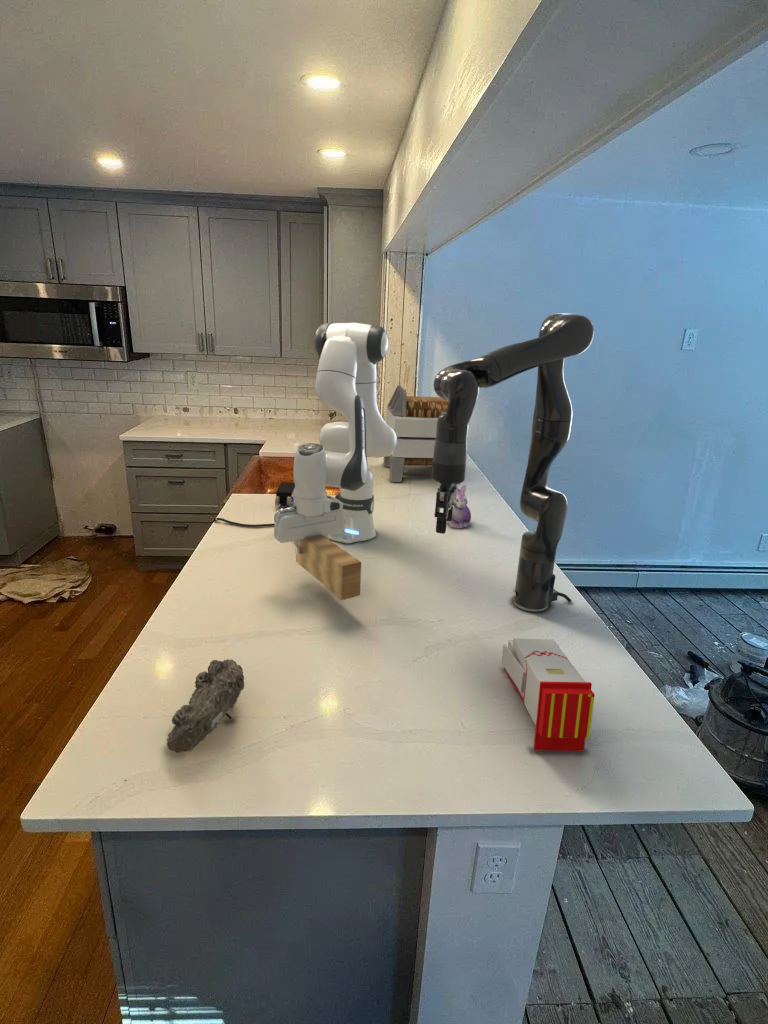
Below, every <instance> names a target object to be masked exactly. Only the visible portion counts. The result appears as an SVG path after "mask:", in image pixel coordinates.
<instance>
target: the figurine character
mask: <svg viewBox="0 0 768 1024" xmlns="http://www.w3.org/2000/svg"><path fill="white" fill-rule="evenodd" d="M294 489H295V482H286V481H285V482H284V481H280V483H279V486H278V487H277V490H276V491H275V497H274V498H275V499H274V506H278V510H279V509H282V507H285V508H290V506H292V503H294Z"/></svg>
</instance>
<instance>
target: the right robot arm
mask: <svg viewBox="0 0 768 1024" xmlns="http://www.w3.org/2000/svg"><path fill="white" fill-rule="evenodd" d="M594 335H595V330H594V324H593V323H592V321H591V319H589V318H588V317H587V316H585V315H582V314H578V313H562V312H561V313H559V312H558V313H551V314H549V315H548V316H546V317H545V319H544V320H543V321H542V323H541V325H540V328H539V332H538V337H536V338H533V339H528V340H524V341H519V342H515V343H512V344H511V343H510V344H507V345H504V346H501V347H498V348H496V349H493V350H491V351H490V352H487V353H485V354H483V355H481V356H479V357H477V358H473V359H469V360H465V361H461V362H457V363H454V364H450V365H448V366H446V367H444V368H443V369H441V370H440V371H439V372H438V373H437V374H436V376H435V377H434V380H433V390H434V393H435V394H436V395H437V397H441V398H442V399H445V400H448V401H449V405H448V408H447V412H444V413H441V414H440V415H439V417H438V419H437V429H436V440H435V445H434V453H433V466H432V465H431V467H432V468H431V479H432V480H434V481H435V482H438V483H440V484H439V487H438V488H437V491H436V493H435V495H436V496H435V497H436V498H435V508H434V509H435V510H434V514H433V515H434V518H436V523H435V532H436V534H442V535H444V534H446V533H447V524H448V522H449V521H451V520H452V514H453V507H454V504H455V502H454V501H455V500H456V492H457V487H458V484H462V483H463V482H464V481H465V479H466V469H467V459H468V437H469V425H470V421H471V418H472V416H473V413H474V409H475V407H476V404H477V401H478V397H479V392H480V388H481V389H487V388H492V387H494V386H496V385H499V384H501V383H503V382H506V381H507V380H509V379H511V378H513V377H516V376H518V375H520V374H522V373H525V372H528V371H529V370H532V369H535V368H537V376H536V377H537V378H536V389H535V401H534V408H533V415H532V422H531V423H532V425H531V434H530V442H529V443H530V444H529V451H528V457H527V463H526V464H527V465H526V470H525V474H524V479H523V484H522V487H521V493H520V499H519V508H520V512H521V514H522V515H523V516H524V517H526V518H528V519H531V521H535V522H537V525H536V528H535V530H529V531H526V532H524V533H523V534H522V535H521V541H520V548H519V549H520V550H519V557H518V564H517V570H516V578H515V585H514V588H512V592H513V598H512V603H513V605H514V606H515V607H516V608H518V609H519V610H521V611H522V610H523V611H526V612H530V613H540V612H544V611H546V610H547V609H548V608H551V606H552V602H556V601H558V597H562V598H564V599H565V600H566V601H567V602H568V603H572V599H571V598H570V597H569V596H568V595H567V594H566V593H562V592H560V591H558V590H556V589H555V582H556V574H555V573H554V568H555V562H556V556H557V549H558V545H559V542H560V541H561V539H562V536H563V532H564V526H565V522H566V517H567V513H568V499H567V497H566V495H565V494H564V493H563V492H560V491H559V490H555V489H553V488H550V487H548V478H549V473H550V469H551V466H552V464H553V463H554V462H555V460H556V459H557V457H558V456H559V455H560V454H561V452H562V451H563V450H564V448H565V447H566V445H567V443H568V441H569V439H570V436H571V430H572V429H571V428H572V422H573V408H572V407H573V406H572V402H571V399H570V395H569V392H568V389H567V387H566V383H565V378H564V377H565V376H564V364H565V359H567V358H571V357H574V356H578V355H581V354H582V353H583V352H585V351H586V350H588V348H590V346H591V345H592V342H593V339H594ZM441 509H443V510H442V512H441Z"/></svg>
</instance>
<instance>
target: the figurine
mask: <svg viewBox="0 0 768 1024" xmlns="http://www.w3.org/2000/svg"><path fill="white" fill-rule="evenodd" d="M466 489H467V485H465V484H463V485H462V486H461V488H460V489H459V488H458V486H457V492H456V500H455V501H454V502H455V504H454V506H453V514H452V520H451V521H448V524H449V526H450V527H451V528H454V529H462V528H467V527H469V526H470V523H471V519H472V513H471V510H470V508H469V507H468V503H469V502H468V498H467V496H466Z"/></svg>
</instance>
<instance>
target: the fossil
mask: <svg viewBox="0 0 768 1024" xmlns="http://www.w3.org/2000/svg"><path fill="white" fill-rule="evenodd" d="M243 670H244V669H243V667H242V665H240V664H237V662H236V661H235V660H234V659H232V658H231V659H227V658H226V659H224V660H223V661H222V660H217V659H212V660H211V661H210V663H209V665H208V666H207V671H201V672H199V673H198V674H197V675H196V676H195V680H194V684H195V685H194V687H195V689H194V690H193V693H192V694H191V697H190V698H189V700H188V704H184V705H182V706H181V707H180V709H177V710H176V711H175V713H174V715H173V716H172V718H171V723H172V724H173V727H172V730H171V731H170V732H168V734H167V738H166V741H167V742H166V745H167V749H168V750H169V751H173V752H174V753H176V754H178V753H182V752H188V751H189V752H192V751H193V750H195V748H196V747H197V746H199V744H200V743H201V742H203V741H204V740H205V739H206V738H207V737H208V736H209V735H210V734H211V733H212V732H214V730H215V729H217V727H218V726H219V724H220V722H221V721H222V720H223V719H224V718H225V716H226V717H227V719H229V720H233V717H232V715H230V714H229V710H230V709H231V708H234V706H235V704H236V703H237V702H238V699H239V697H240V695H241V693H242V691H243V690H245V689H244V688H245V675H244V671H243Z"/></svg>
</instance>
